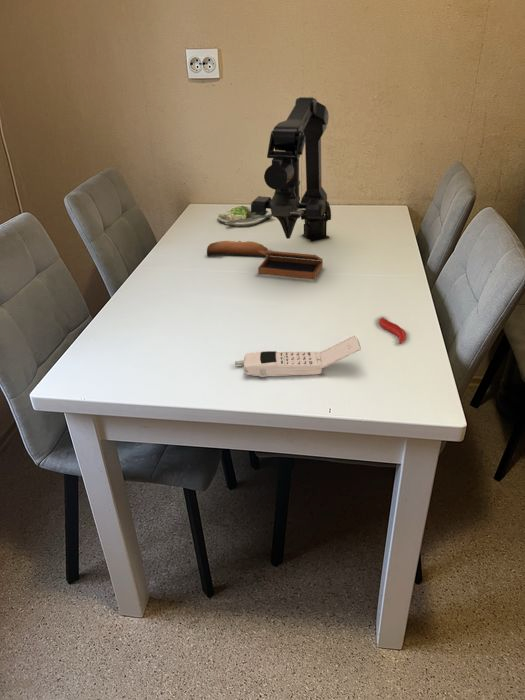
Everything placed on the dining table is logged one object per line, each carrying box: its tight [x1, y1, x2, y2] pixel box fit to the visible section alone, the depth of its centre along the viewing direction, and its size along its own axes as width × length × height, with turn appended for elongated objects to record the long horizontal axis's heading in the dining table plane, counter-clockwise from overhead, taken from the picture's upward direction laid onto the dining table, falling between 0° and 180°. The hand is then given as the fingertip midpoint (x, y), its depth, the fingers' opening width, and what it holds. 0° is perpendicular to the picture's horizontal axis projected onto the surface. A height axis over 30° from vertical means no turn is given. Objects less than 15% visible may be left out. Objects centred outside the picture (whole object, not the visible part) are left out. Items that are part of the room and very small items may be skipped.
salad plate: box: [217, 205, 273, 227], centre depth 195 cm, size 19×18×5 cm
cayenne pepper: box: [378, 317, 407, 344], centre depth 126 cm, size 12×5×2 cm, turn 2°
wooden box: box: [257, 256, 324, 280], centre depth 156 cm, size 9×16×2 cm, turn 72°
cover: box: [258, 250, 324, 261], centre depth 154 cm, size 9×16×1 cm, turn 71°
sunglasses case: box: [206, 240, 269, 258], centre depth 169 cm, size 18×7×7 cm, turn 80°
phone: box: [266, 261, 317, 272], centre depth 156 cm, size 7×14×1 cm, turn 72°
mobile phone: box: [234, 335, 362, 378], centre depth 113 cm, size 6×6×25 cm
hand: (288, 238), depth 149 cm, fingers closed
